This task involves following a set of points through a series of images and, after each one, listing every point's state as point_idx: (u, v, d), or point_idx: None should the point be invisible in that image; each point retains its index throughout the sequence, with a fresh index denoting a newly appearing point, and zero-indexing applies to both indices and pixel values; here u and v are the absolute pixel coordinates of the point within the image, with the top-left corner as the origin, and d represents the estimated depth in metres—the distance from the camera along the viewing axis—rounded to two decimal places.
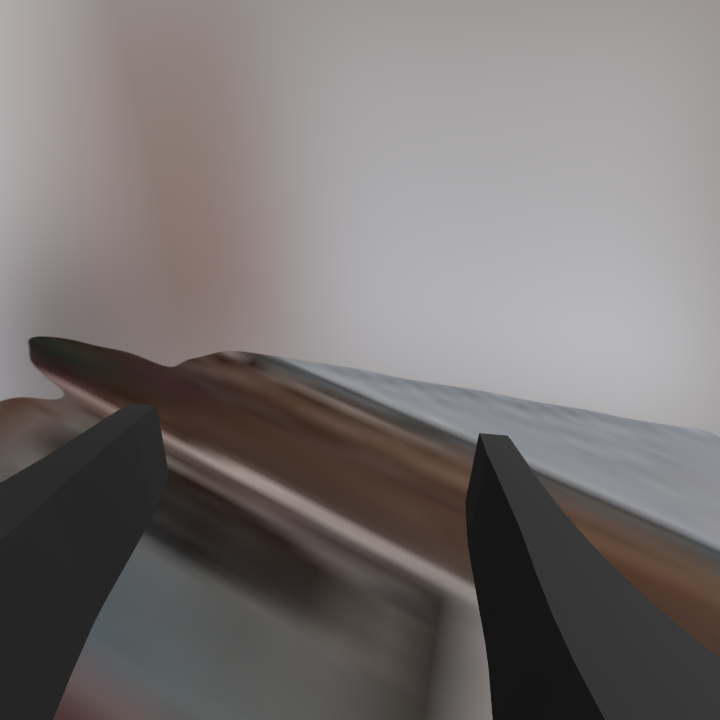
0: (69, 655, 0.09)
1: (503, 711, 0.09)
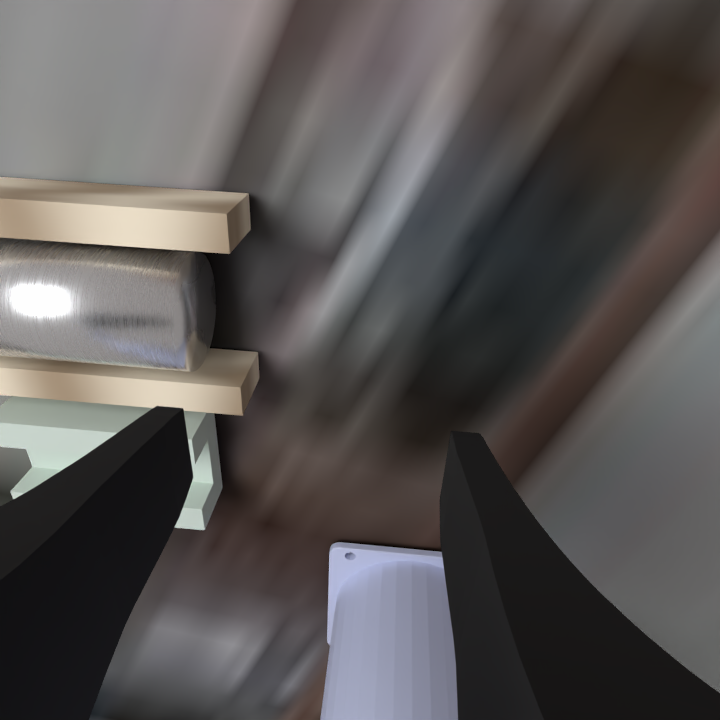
0: (102, 659, 0.09)
1: (465, 707, 0.09)
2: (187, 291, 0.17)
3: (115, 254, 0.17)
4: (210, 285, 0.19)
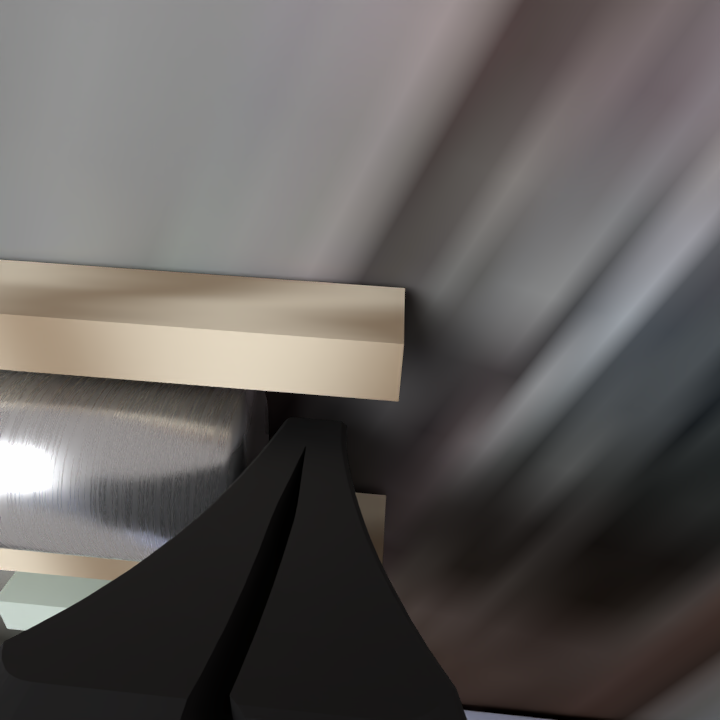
0: None
1: None
2: (236, 459, 0.11)
3: (120, 405, 0.10)
4: (263, 414, 0.13)
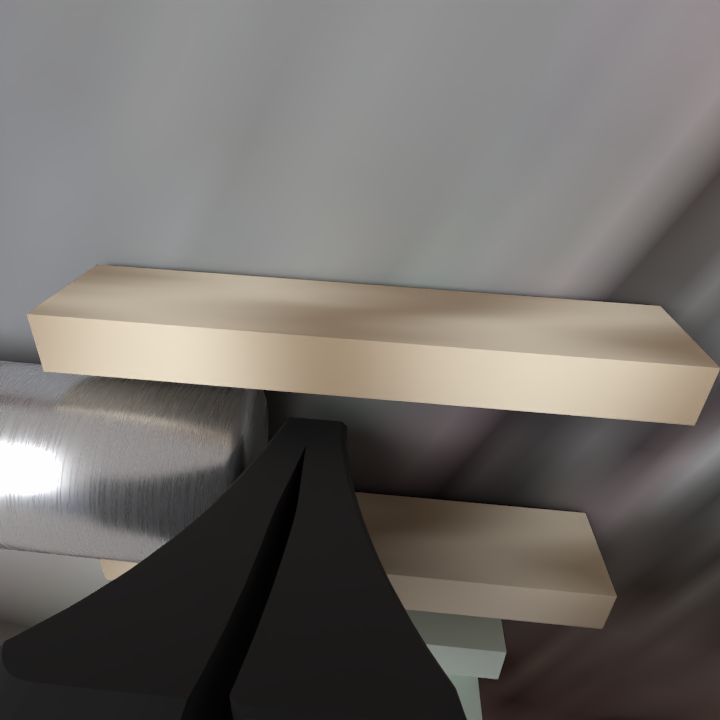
0: None
1: None
2: (236, 460, 0.11)
3: (120, 405, 0.10)
4: (262, 416, 0.13)
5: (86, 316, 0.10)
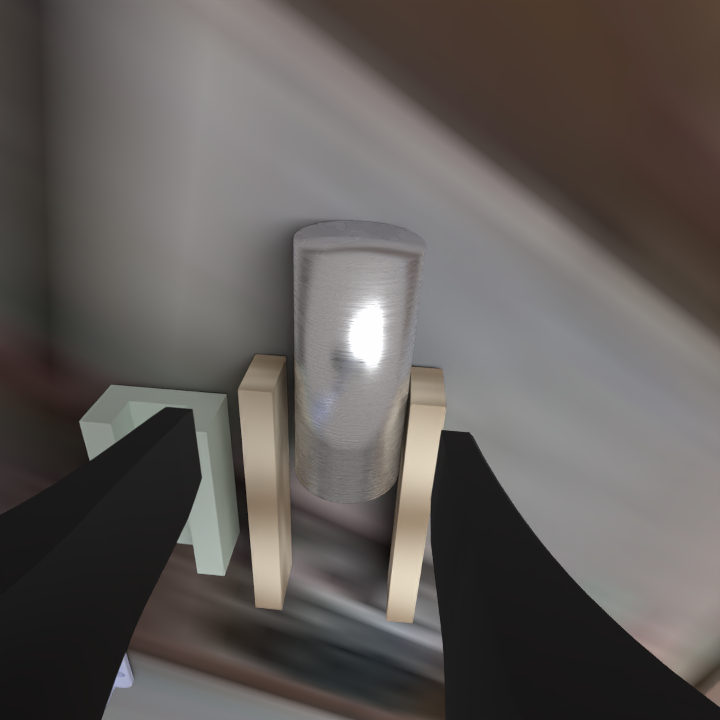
0: (114, 660, 0.09)
1: (452, 705, 0.09)
2: None
3: (404, 422, 0.20)
4: None
5: None
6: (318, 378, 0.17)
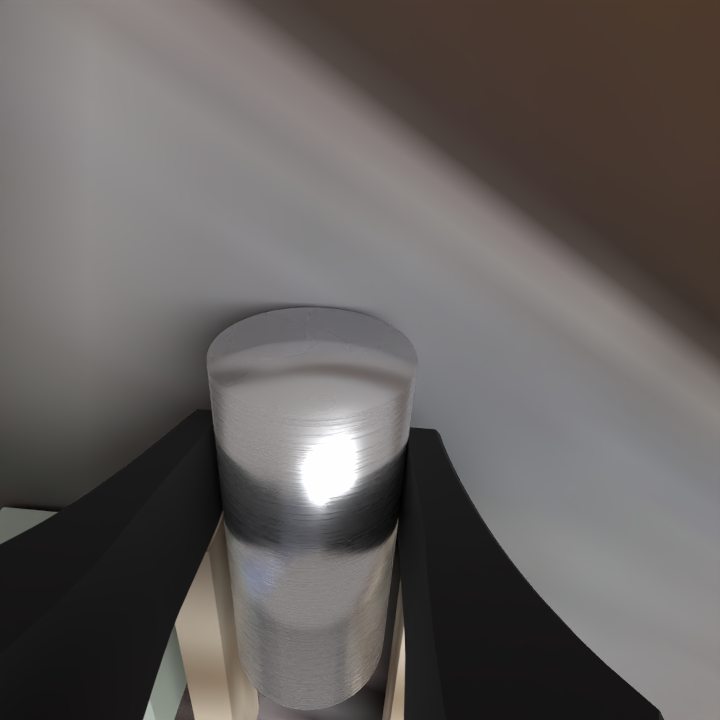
0: (153, 664, 0.09)
1: (408, 701, 0.09)
2: None
3: (388, 597, 0.13)
4: None
5: None
6: (242, 552, 0.11)
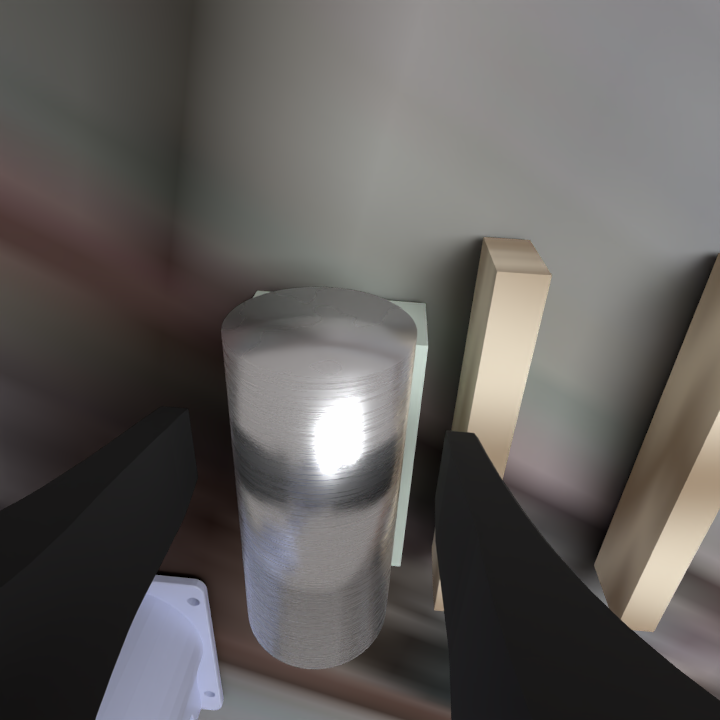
0: (108, 659, 0.09)
1: (458, 706, 0.09)
2: None
3: None
4: None
5: None
6: (253, 514, 0.12)
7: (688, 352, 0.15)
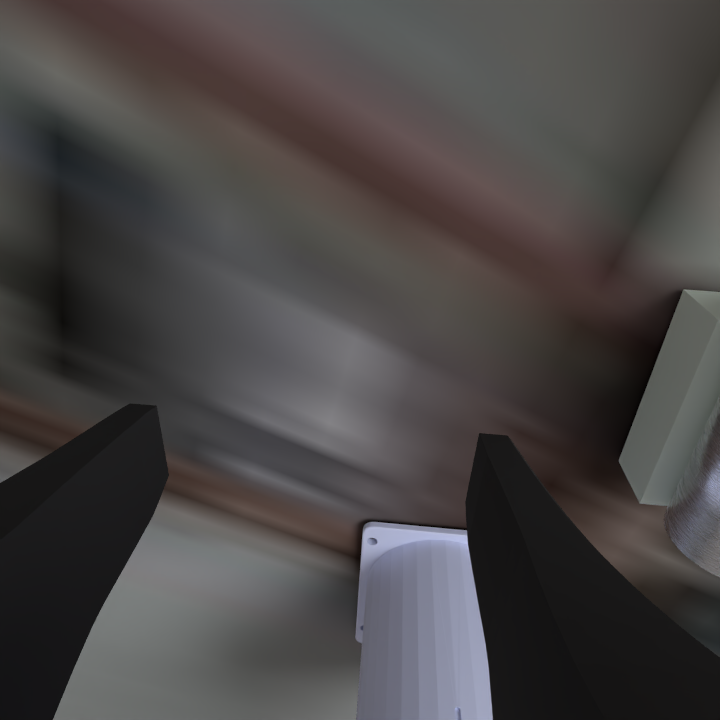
0: (69, 655, 0.09)
1: (503, 711, 0.09)
2: None
3: None
4: None
5: None
6: None
7: None
